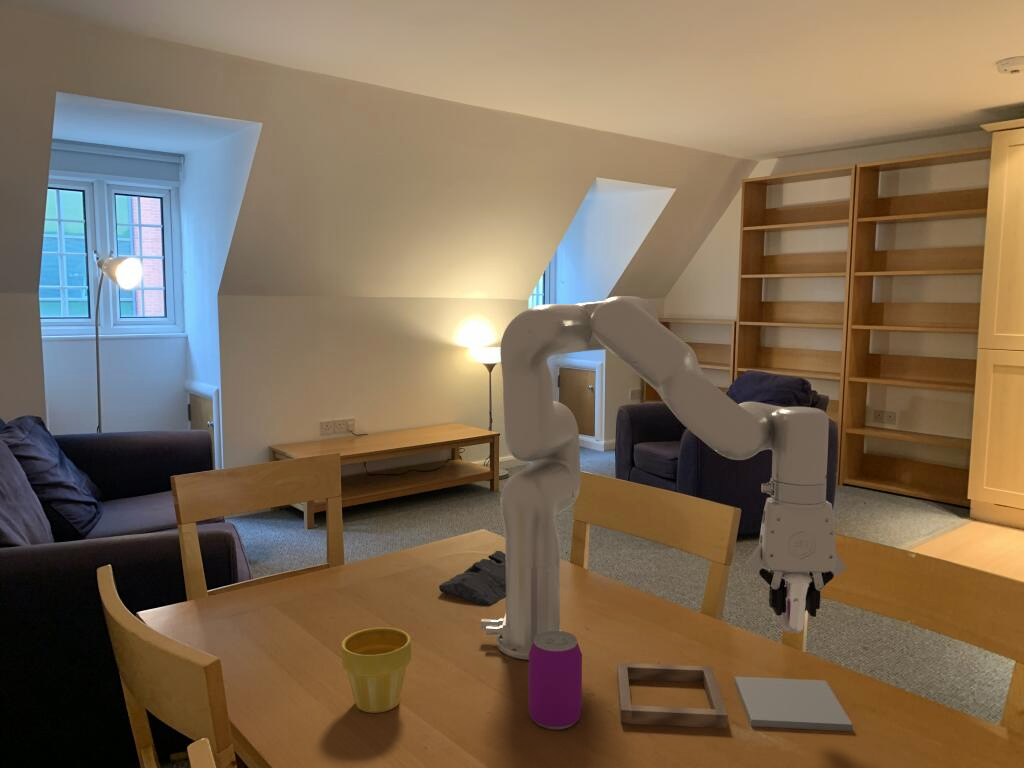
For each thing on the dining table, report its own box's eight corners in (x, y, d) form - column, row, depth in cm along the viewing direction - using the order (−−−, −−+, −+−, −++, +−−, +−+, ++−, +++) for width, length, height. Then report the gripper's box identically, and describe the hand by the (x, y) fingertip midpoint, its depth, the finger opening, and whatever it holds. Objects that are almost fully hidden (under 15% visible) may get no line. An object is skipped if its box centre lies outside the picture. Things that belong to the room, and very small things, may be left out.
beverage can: (527, 731, 112) (528, 650, 110) (529, 704, 119) (529, 627, 118) (582, 733, 111) (583, 651, 110) (580, 705, 119) (581, 628, 118)
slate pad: (750, 726, 113) (751, 719, 113) (734, 682, 126) (734, 676, 126) (852, 731, 112) (852, 724, 112) (825, 686, 125) (825, 680, 125)
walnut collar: (620, 723, 114) (621, 709, 114) (617, 674, 129) (617, 662, 129) (727, 728, 113) (727, 715, 112) (711, 678, 127) (711, 666, 127)
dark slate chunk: (426, 596, 164) (426, 574, 163) (482, 565, 183) (482, 545, 182) (489, 611, 156) (489, 587, 156) (541, 577, 175) (541, 556, 175)
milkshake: (815, 637, 115) (822, 571, 114) (776, 632, 116) (783, 566, 115) (810, 625, 119) (816, 561, 118) (773, 620, 120) (779, 557, 119)
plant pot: (348, 686, 125) (346, 626, 124) (414, 684, 125) (413, 625, 124) (337, 721, 115) (335, 656, 113) (409, 719, 115) (408, 654, 114)
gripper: (744, 497, 113) (740, 620, 114) (867, 499, 111) (861, 625, 113) (734, 484, 120) (731, 601, 122) (849, 487, 118) (844, 605, 120)
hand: (793, 611), depth 117 cm, fingers closed on milkshake, 4 cm apart
